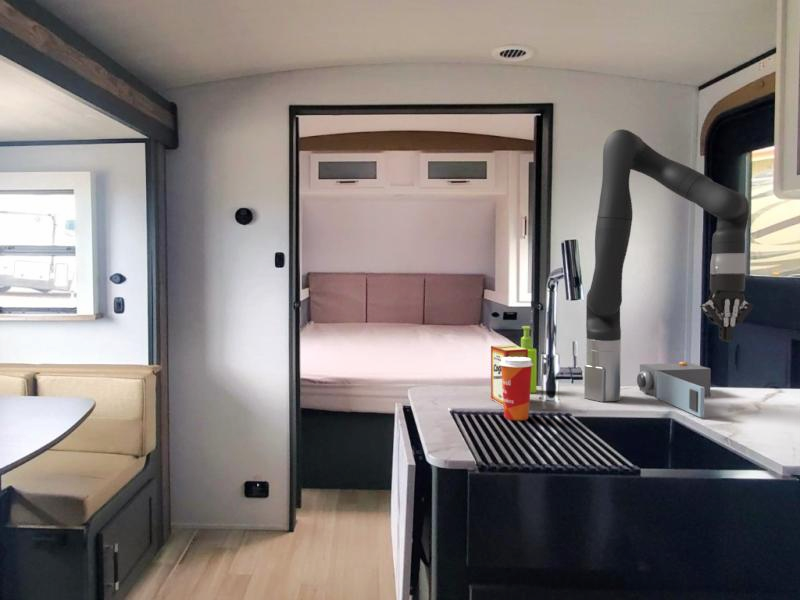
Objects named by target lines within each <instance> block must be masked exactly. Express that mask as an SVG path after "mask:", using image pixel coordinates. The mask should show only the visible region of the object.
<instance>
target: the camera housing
mask: <svg viewBox="0 0 800 600" xmlns="http://www.w3.org/2000/svg"><path fill="white" fill-rule="evenodd" d="M711 370H712V369H711V368H710V367H706V366H702V365H699V364H695V363H691V362H686V361H679V362H678V363H677V362H676V363H673V362H672V363H648V364H647V363H644V364H643V363H642V364H639V372H638V374H637V377H636V383H637V386H638V388H639V391H640V392H642V393H645V394H647V393H648V395H650V396H652V397H655V371H660V372H662V373H665V374H668V375H671V376H673V377H676V378H679V379H682V380H685V381H687V382H690V383H693V384H696V385H699V386H701V387H704V388H705V395H704V397H711V380H712V379H711V376H712V374H711V373H712V372H711Z"/></svg>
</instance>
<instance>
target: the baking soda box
mask: <svg viewBox="0 0 800 600" xmlns="http://www.w3.org/2000/svg"><path fill="white" fill-rule="evenodd" d="M504 357H526V358H528V349H525V348H521V346H518V345H515V344H506V345H505V344H503V345H491V346H490V399H491V398H492V399H494V400H496V401H498V402H500V403H501V404H503V389H502V372H501V365H500V363H501V359H502V358H504Z"/></svg>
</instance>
